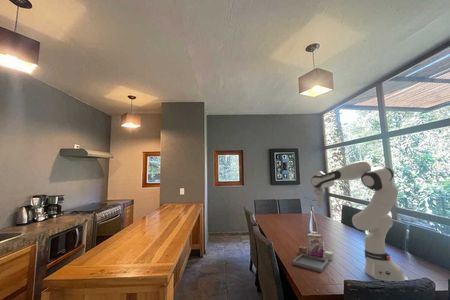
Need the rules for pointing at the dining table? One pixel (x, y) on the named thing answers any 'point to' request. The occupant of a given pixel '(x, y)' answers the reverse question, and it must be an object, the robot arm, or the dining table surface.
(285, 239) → the dining table surface
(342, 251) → the dining table surface
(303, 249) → the walnut cube
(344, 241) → the dining table surface
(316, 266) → the tray
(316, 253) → the candy bar box
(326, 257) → the sage cube
